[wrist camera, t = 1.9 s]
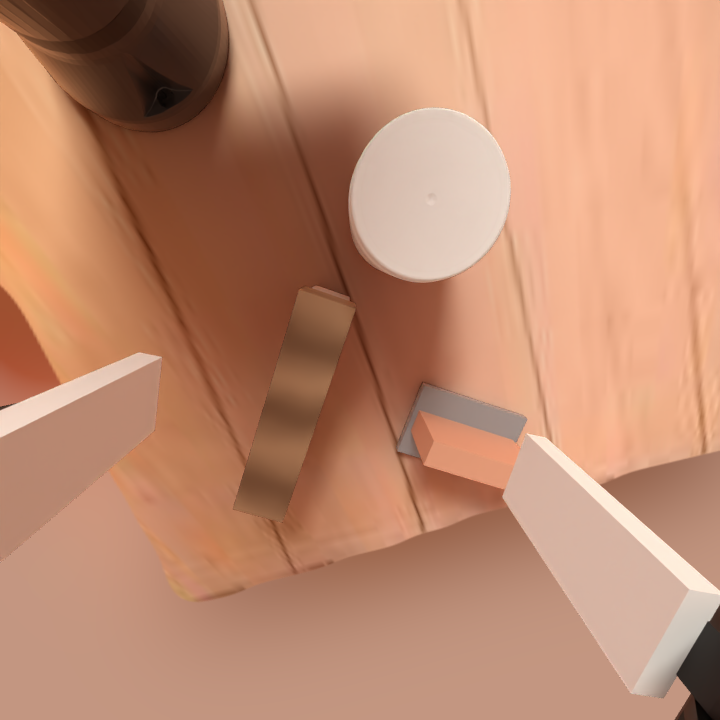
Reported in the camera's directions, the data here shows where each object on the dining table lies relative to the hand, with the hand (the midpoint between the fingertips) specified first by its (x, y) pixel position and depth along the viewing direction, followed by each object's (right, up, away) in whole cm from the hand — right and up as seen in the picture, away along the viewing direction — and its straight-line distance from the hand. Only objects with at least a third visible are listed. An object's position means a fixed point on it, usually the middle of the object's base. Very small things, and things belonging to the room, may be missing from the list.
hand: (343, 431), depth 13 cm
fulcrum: (+12, -5, +27) cm, 30 cm away
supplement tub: (+4, +16, +22) cm, 27 cm away
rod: (-5, -1, +21) cm, 22 cm away
